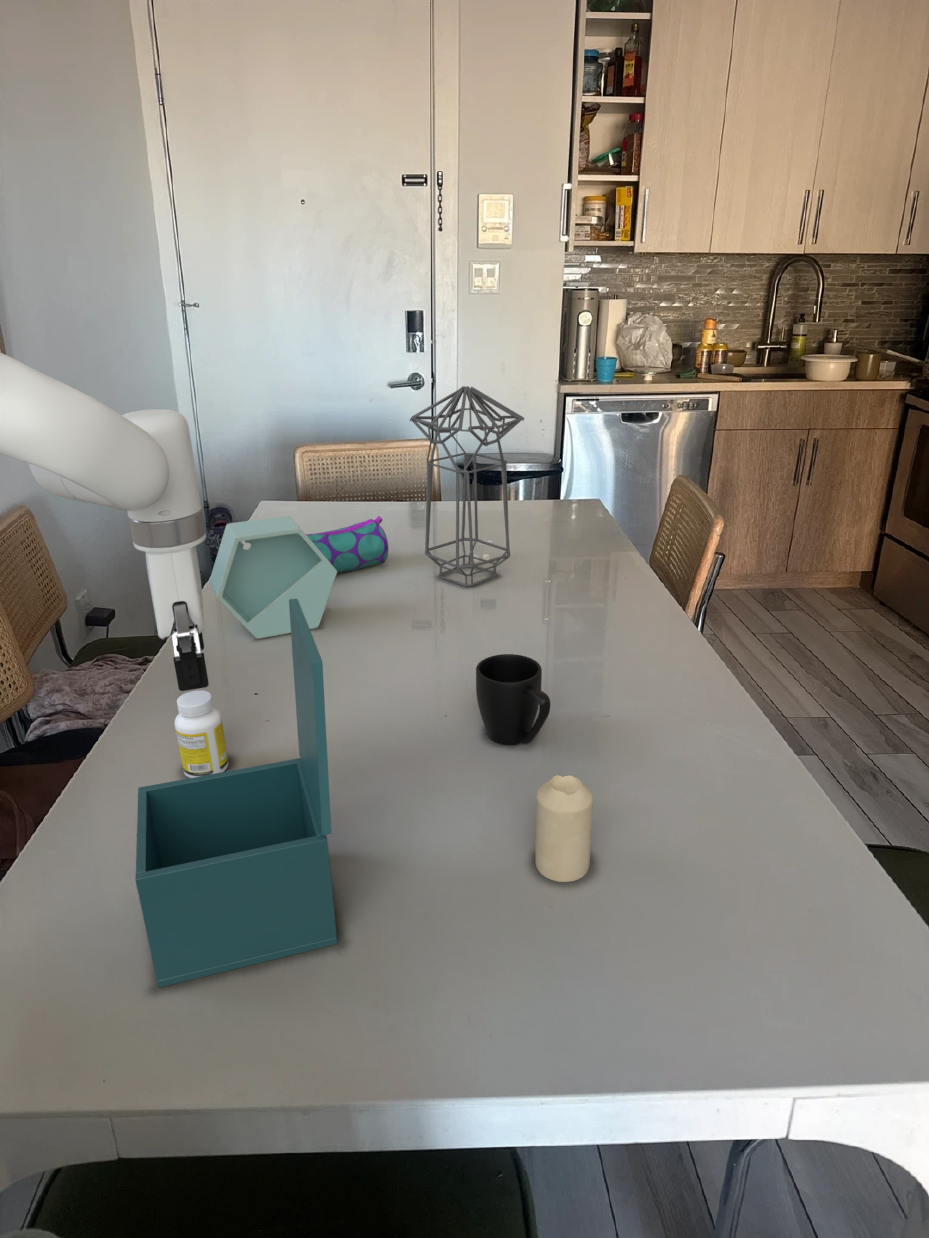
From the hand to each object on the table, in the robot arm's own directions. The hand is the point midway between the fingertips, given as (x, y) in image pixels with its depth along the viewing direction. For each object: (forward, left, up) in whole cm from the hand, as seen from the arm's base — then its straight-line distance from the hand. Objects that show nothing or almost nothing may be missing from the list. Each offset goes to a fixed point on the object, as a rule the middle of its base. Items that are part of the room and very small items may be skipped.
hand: (192, 668), depth 101 cm
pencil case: (-13, +66, -14) cm, 69 cm away
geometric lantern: (+13, +70, -14) cm, 73 cm away
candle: (+45, -6, -14) cm, 47 cm away
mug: (+35, +16, -14) cm, 41 cm away
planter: (-11, +40, -14) cm, 44 cm away
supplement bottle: (0, 0, -14) cm, 14 cm away
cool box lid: (+23, -17, +7) cm, 30 cm away
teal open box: (+17, -21, -14) cm, 30 cm away
